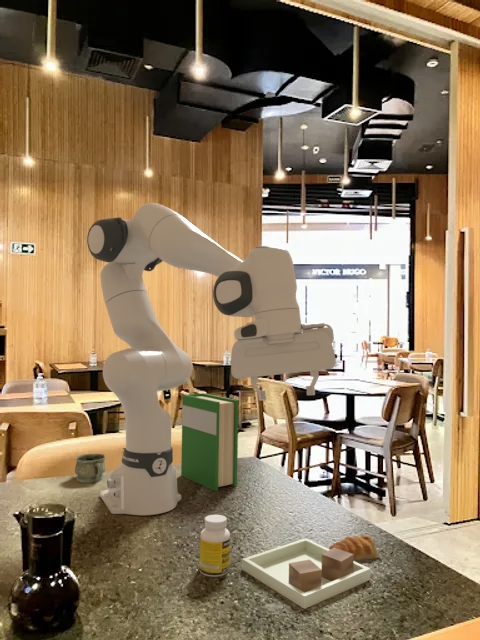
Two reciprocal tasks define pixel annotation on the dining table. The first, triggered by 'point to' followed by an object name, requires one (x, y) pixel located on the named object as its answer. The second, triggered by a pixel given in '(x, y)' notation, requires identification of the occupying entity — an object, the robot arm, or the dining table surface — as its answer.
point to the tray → (276, 561)
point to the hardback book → (209, 440)
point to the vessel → (90, 467)
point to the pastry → (358, 547)
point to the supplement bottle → (215, 546)
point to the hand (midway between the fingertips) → (286, 397)
